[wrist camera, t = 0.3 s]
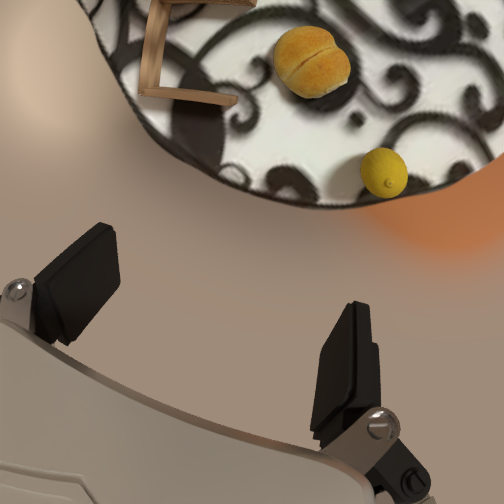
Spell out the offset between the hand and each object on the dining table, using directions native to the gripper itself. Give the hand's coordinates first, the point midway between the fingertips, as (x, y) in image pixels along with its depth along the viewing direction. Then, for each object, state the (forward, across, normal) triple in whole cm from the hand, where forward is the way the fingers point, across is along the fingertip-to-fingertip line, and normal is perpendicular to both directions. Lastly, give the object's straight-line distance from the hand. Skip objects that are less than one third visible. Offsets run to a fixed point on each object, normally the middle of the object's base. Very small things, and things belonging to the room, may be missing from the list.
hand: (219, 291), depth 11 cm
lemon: (+30, -11, 0) cm, 31 cm away
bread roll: (+30, 0, -10) cm, 31 cm away
